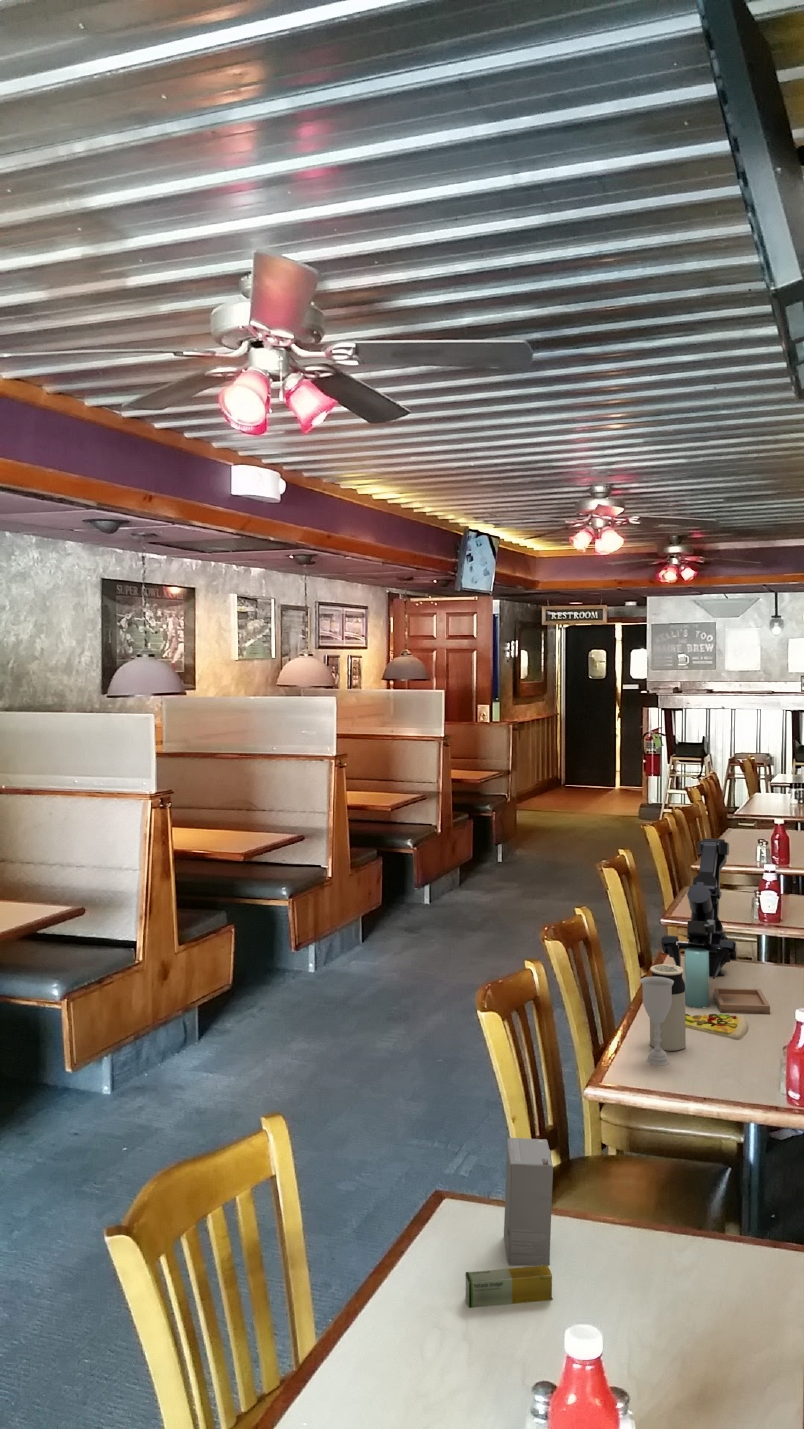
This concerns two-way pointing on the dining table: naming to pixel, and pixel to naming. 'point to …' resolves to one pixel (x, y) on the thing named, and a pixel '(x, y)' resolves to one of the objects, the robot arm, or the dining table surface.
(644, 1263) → the dining table surface
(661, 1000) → the chalice
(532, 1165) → the skincare box
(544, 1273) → the medication box
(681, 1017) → the travel mug
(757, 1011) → the tray
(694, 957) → the teal rounded cylinder
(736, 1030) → the pizza slice
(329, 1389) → the dining table surface
